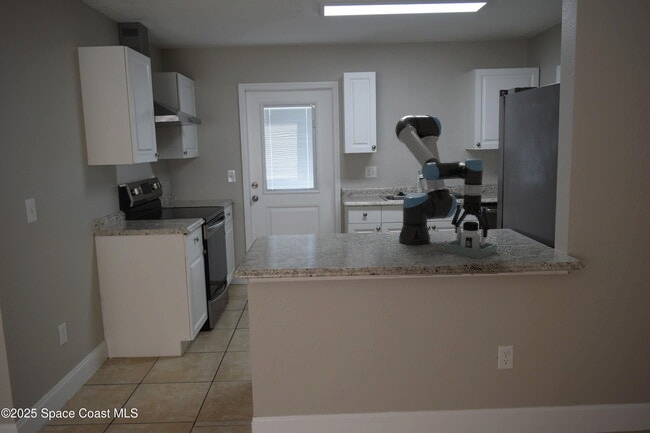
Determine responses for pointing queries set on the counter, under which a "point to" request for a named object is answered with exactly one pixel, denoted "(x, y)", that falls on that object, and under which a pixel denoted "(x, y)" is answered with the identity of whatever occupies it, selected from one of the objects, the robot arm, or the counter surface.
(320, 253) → the counter surface
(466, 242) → the container
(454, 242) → the box
